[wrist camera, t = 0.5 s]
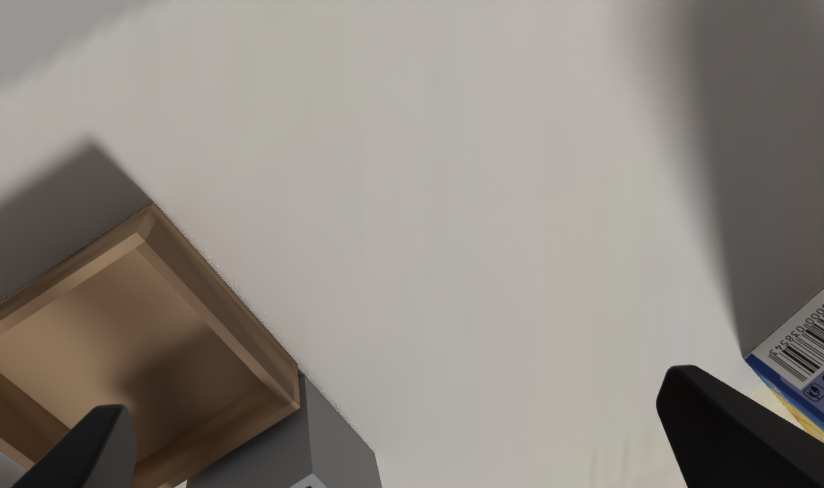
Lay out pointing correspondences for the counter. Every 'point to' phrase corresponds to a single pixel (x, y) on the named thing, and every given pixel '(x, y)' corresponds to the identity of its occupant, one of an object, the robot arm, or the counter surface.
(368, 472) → the grey plastic crate
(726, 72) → the counter surface
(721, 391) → the robot arm
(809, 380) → the blue cardboard box
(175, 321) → the walnut crate
